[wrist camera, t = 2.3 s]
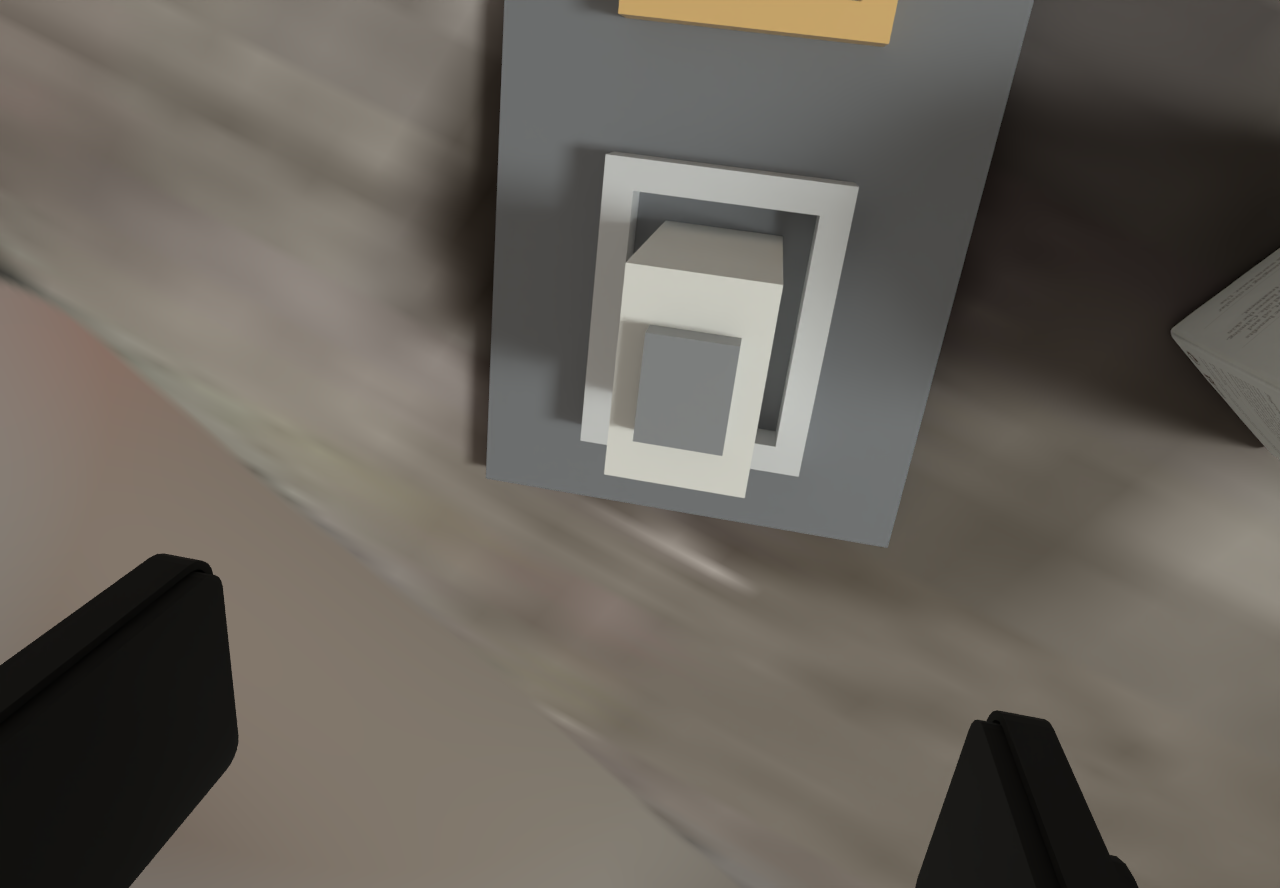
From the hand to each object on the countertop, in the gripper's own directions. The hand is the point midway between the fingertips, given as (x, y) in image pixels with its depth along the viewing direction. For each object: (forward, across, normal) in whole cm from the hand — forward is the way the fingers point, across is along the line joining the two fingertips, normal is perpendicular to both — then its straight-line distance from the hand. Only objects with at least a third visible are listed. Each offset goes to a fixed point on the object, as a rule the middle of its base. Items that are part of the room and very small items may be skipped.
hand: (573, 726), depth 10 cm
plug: (+21, 0, 0) cm, 21 cm away
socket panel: (+22, 0, -7) cm, 23 cm away
